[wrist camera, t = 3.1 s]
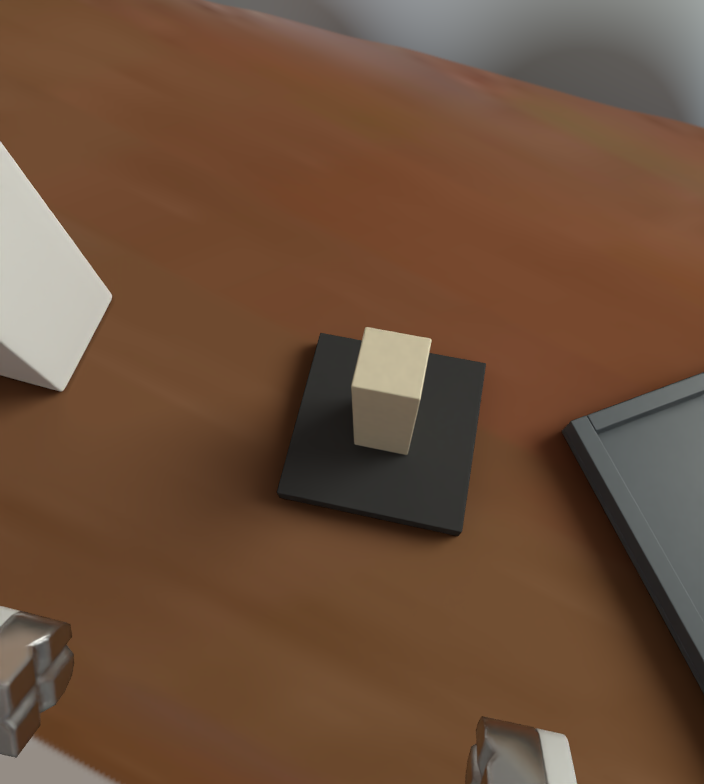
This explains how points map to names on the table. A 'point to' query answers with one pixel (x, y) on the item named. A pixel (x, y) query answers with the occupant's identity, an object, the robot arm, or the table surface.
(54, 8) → the table surface
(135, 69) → the table surface
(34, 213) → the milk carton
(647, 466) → the grey shallow rectangular tray
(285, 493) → the loose pad
